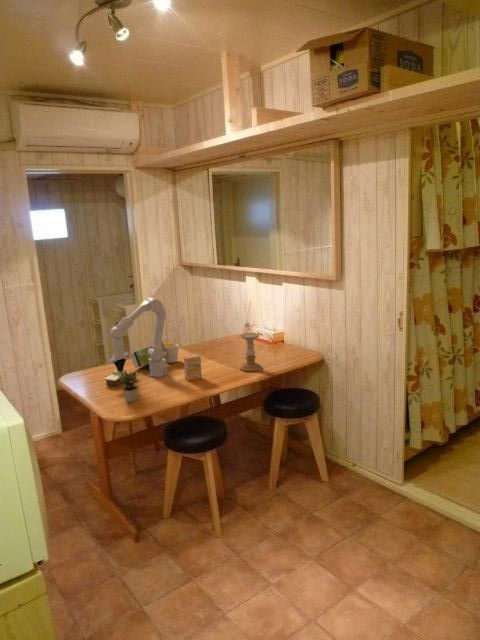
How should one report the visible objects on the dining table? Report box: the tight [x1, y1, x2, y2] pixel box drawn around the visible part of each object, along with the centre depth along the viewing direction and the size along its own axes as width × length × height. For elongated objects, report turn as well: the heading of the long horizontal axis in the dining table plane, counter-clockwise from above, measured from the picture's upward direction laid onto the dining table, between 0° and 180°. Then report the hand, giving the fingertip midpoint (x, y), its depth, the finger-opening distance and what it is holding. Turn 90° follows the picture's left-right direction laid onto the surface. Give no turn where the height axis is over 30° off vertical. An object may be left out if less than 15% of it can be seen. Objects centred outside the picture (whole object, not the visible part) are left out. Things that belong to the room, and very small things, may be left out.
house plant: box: [115, 369, 143, 403], centre depth 234 cm, size 14×14×16 cm
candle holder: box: [240, 332, 263, 372], centre depth 272 cm, size 12×12×20 cm
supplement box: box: [183, 353, 203, 382], centre depth 260 cm, size 8×5×13 cm, turn 118°
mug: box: [163, 342, 180, 364], centre depth 293 cm, size 14×10×10 cm
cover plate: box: [103, 370, 131, 381], centre depth 259 cm, size 13×8×2 cm, turn 154°
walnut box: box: [105, 370, 137, 387], centre depth 262 cm, size 13×10×4 cm
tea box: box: [129, 341, 168, 369], centre depth 283 cm, size 15×10×15 cm
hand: (120, 372), depth 261 cm, fingers closed
